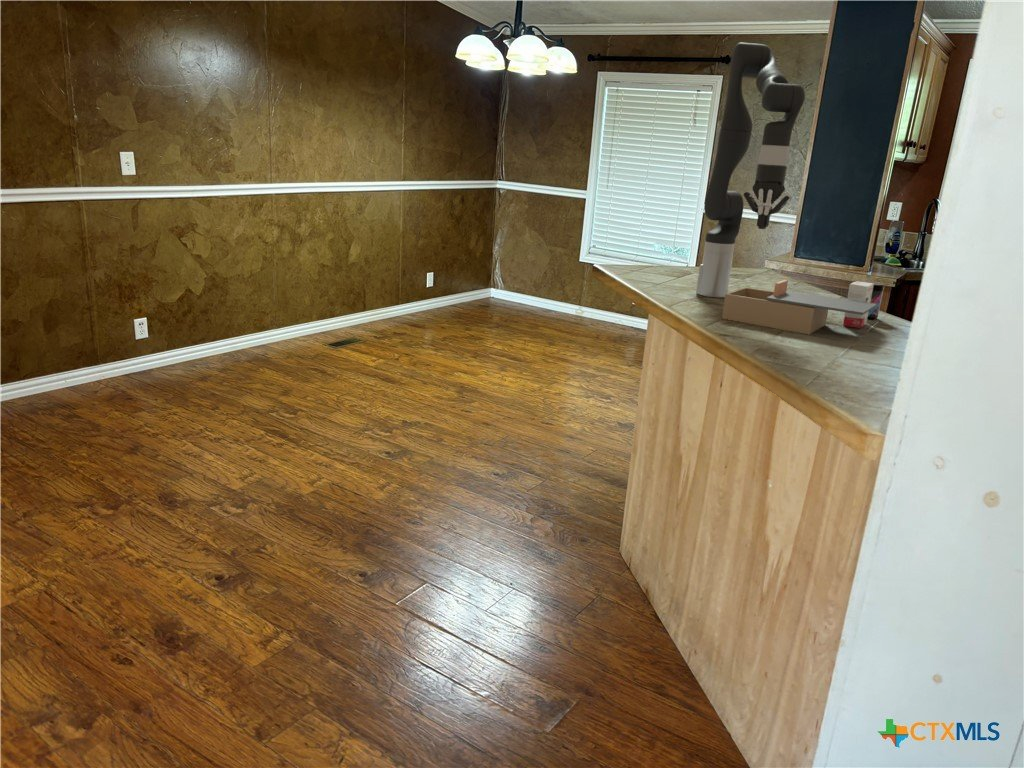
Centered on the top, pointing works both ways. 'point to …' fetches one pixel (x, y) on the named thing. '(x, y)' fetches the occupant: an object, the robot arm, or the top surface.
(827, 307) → the mailer lid
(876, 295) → the supplement container
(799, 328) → the box
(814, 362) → the top surface
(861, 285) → the ink box
